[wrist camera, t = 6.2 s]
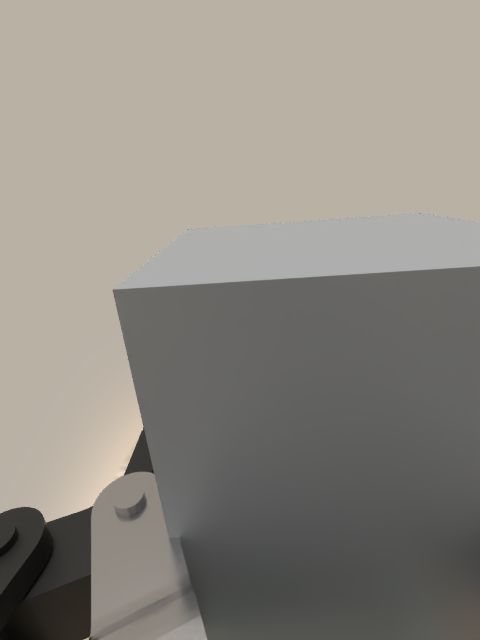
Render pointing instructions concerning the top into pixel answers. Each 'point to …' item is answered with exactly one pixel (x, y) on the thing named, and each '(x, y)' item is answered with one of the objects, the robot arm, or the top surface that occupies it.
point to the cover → (317, 423)
